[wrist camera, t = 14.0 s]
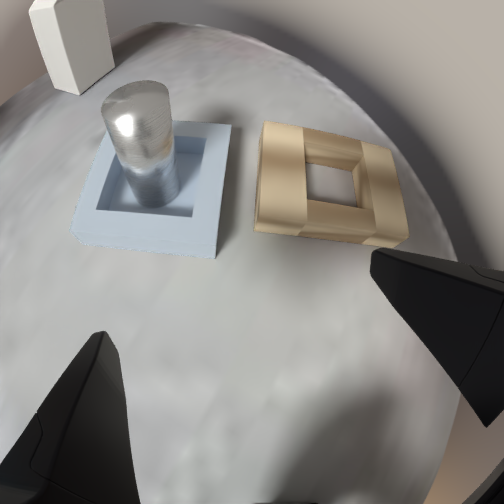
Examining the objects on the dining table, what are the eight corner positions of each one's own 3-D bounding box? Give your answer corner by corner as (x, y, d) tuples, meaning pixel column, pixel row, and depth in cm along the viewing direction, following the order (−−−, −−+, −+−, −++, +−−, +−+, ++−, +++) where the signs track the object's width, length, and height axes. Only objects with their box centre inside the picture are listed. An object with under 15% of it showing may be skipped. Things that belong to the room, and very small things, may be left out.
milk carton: (80, 96, 27) (47, -21, 10) (54, 89, 28) (22, -12, 10) (115, 68, 30) (99, -43, 12) (87, 62, 30) (68, -35, 13)
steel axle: (186, 199, 23) (174, 110, 14) (137, 214, 22) (101, 132, 13) (174, 161, 25) (162, 74, 15) (130, 175, 24) (101, 92, 14)
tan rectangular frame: (392, 248, 26) (409, 237, 23) (253, 231, 24) (259, 215, 21) (377, 164, 29) (390, 149, 26) (259, 140, 28) (264, 120, 25)
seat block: (215, 258, 23) (215, 245, 20) (82, 244, 21) (68, 231, 19) (229, 145, 27) (231, 124, 24) (118, 139, 26) (111, 120, 23)
